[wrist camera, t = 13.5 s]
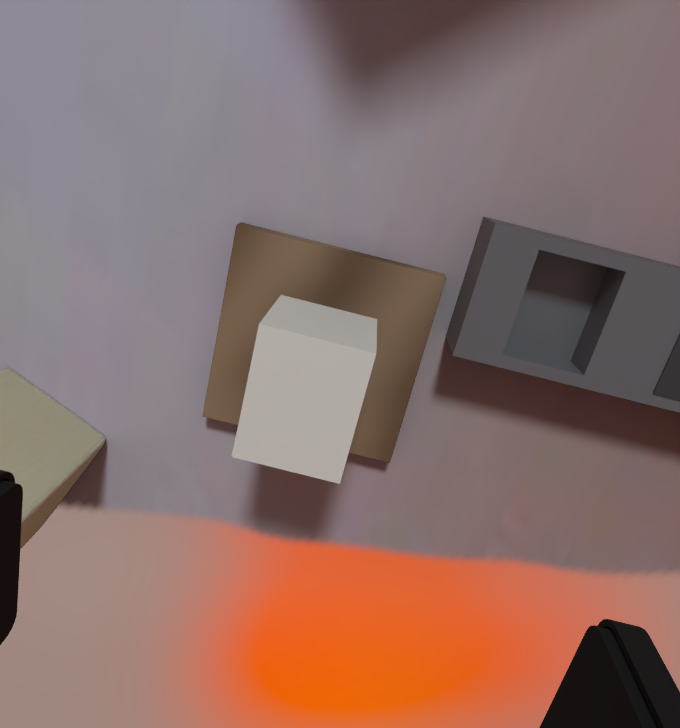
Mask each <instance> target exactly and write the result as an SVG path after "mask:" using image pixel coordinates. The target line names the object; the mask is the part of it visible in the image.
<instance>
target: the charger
mask: <svg viewBox="0 0 680 728" xmlns="http://www.w3.org/2000/svg"><path fill="white" fill-rule="evenodd" d="M376 350H377V319H375V318H371V317H367V316H363V315H359V314H355V313H351V312H347V311H343V310H339V309H335V308H331V307H328V306H324V305H320V304H316V303H312V302H308V301H304V300H300V299H296V298H292V297H288V296H284V295H280V297H279V298H278V299H277V301H276V302H275V303H274V305H273V306H272V307H271V309H270V310H269V311H268V313H267V314H266V315H265V317H264V318H263V319H262V320H261V322H260V323H259V326H258V331H257V336H256V341H255V346H254V351H253V355H252V360H251V365H250V370H249V375H248V380H247V385H246V390H245V394H244V399H243V404H242V409H241V414H240V419H239V424H238V429H237V433H236V438H235V443H234V448H233V453H232V457H234V458H238V459H242V460H246V461H250V462H254V463H258V464H262V465H266V466H270V467H274V468H278V469H282V470H286V471H290V472H294V473H298V474H302V475H306V476H310V477H314V478H318V479H322V480H326V481H330V482H334V483H338V484H340V482H341V478H342V475H343V471H344V468H345V464H346V460H347V457H348V453H349V450H350V446H351V443H352V439H353V435H354V432H355V428H356V425H357V421H358V418H359V414H360V410H361V407H362V403H363V400H364V396H365V393H366V389H367V385H368V382H369V378H370V375H371V371H372V368H373V364H374V360H375V357H376Z"/></svg>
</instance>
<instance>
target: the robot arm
mask: <svg viewBox="0 0 680 728" xmlns="http://www.w3.org/2000/svg"><path fill="white" fill-rule="evenodd" d="M22 502H23V488H22V486H21V485H20V484H17V483H15V478H14V475H13V474H12V473H10V472H8V471H4V470H0V645H1V643H2V642H3V641H4V640H5V638H6V637H7V636H8V634H9V632H10V631H11V629H12V627H13V624H14V622H15V618H16V614H17V599H18V579H19V561H20V541H21V522H22ZM540 728H680V692H679V690H678V688H677V686H676V684H675V683H674V681H673V679H672V677H671V675H670V673H669V671H668V670H667V668H666V666H665V664H664V662H663V661H662V659H661V657H660V655H659V653H658V651H657V649H656V648H655V646H654V644H653V642H652V640H651V638H650V636H649V635H648V633H647V632H646V631H645V630H644V629H643V628H641V627H638V626H633V625H630V624H625V623H621V622H617V621H613V620H609V619H604V620H603V621H601V622H600V623H599V625H598V626H590V627H589V628H588V629H587V631H586V633H585V635H584V637H583V639H582V641H581V643H580V645H579V647H578V649H577V651H576V654H575V656H574V658H573V660H572V662H571V664H570V666H569V668H568V670H567V672H566V674H565V676H564V678H563V680H562V682H561V685H560V687H559V689H558V691H557V693H556V695H555V697H554V699H553V701H552V703H551V705H550V707H549V710H548V711H547V714H546V716H545V718H544V720H543V722H542V724H541V726H540Z"/></svg>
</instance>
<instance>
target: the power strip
mask: <svg viewBox="0 0 680 728" xmlns="http://www.w3.org/2000/svg"><path fill="white" fill-rule="evenodd" d="M446 339H447V342H448V344H449V347H450V350H451V353H452V355H453V356H456V357H460V358H464V359H468V360H472V361H476V362H480V363H484V364H488V365H492V366H496V367H500V368H504V369H508V370H512V371H516V372H520V373H524V374H528V375H532V376H536V377H539V378H543V379H547V380H551V381H555V382H559V383H563V384H567V385H571V386H575V387H579V388H583V389H587V390H591V391H595V392H599V393H603V394H607V395H611V396H615V397H619V398H623V399H627V400H631V401H635V402H639V403H643V404H647V405H651V406H655V407H659V408H663V409H667V410H671V411H675V412H679V413H680V267H678V266H675V265H671V264H667V263H663V262H659V261H655V260H651V259H647V258H643V257H639V256H635V255H631V254H628V253H624V252H620V251H616V250H612V249H608V248H604V247H600V246H596V245H592V244H588V243H584V242H580V241H577V240H573V239H569V238H565V237H561V236H557V235H553V234H549V233H545V232H541V231H537V230H533V229H530V228H526V227H522V226H518V225H514V224H510V223H506V222H502V221H498V220H494V219H490V218H486V217H483V220H482V224H481V227H480V230H479V233H478V236H477V239H476V243H475V246H474V249H473V252H472V255H471V258H470V262H469V265H468V268H467V271H466V274H465V278H464V281H463V284H462V287H461V290H460V293H459V297H458V300H457V303H456V306H455V309H454V312H453V316H452V319H451V322H450V325H449V328H448V331H447V335H446Z"/></svg>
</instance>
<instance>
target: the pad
mask: <svg viewBox="0 0 680 728" xmlns="http://www.w3.org/2000/svg"><path fill="white" fill-rule="evenodd" d="M445 280H446V277H445V275H444V274H442V273H438V272H434V271H430V270H426V269H423V268H419V267H415V266H411V265H407V264H403V263H399V262H395V261H391V260H387V259H383V258H379V257H375V256H371V255H367V254H363V253H359V252H355V251H351V250H347V249H344V248H340V247H336V246H332V245H328V244H324V243H320V242H316V241H312V240H308V239H304V238H300V237H296V236H292V235H288V234H284V233H280V232H276V231H272V230H269V229H265V228H261V227H257V226H253V225H249V224H245V223H240V224H237V226H236V231H235V237H234V243H233V248H232V254H231V259H230V265H229V271H228V276H227V282H226V288H225V293H224V299H223V304H222V310H221V316H220V321H219V327H218V333H217V338H216V344H215V349H214V355H213V361H212V366H211V372H210V378H209V383H208V389H207V394H206V400H205V406H204V411H203V417H207V418H211V419H215V420H219V421H223V422H227V423H231V424H235V425H238V424H239V419H240V414H241V409H242V404H243V399H244V394H245V390H246V385H247V380H248V375H249V370H250V365H251V360H252V355H253V351H254V346H255V341H256V336H257V331H258V326H259V323H260V322H261V320H262V319H263V318H264V317H265V315H266V314H267V313H268V311H269V310H270V309H271V307H272V306H273V305H274V303H275V302H276V301H277V299H278V298H279V297H280V295H284V296H288V297H292V298H296V299H300V300H304V301H308V302H312V303H316V304H320V305H324V306H328V307H331V308H335V309H339V310H343V311H347V312H351V313H355V314H359V315H363V316H367V317H371V318H375V319H377V350H376V357H375V360H374V364H373V368H372V371H371V375H370V378H369V382H368V385H367V389H366V393H365V396H364V400H363V403H362V407H361V410H360V414H359V418H358V421H357V425H356V428H355V432H354V435H353V439H352V443H351V446H350V450H349V453H352V454H356V455H360V456H364V457H368V458H372V459H376V460H380V461H384V462H388V463H390V460H391V457H392V454H393V450H394V447H395V444H396V441H397V437H398V434H399V431H400V427H401V424H402V421H403V418H404V414H405V411H406V408H407V404H408V401H409V398H410V395H411V391H412V388H413V385H414V381H415V378H416V375H417V372H418V368H419V365H420V362H421V358H422V355H423V352H424V349H425V345H426V342H427V339H428V335H429V332H430V329H431V326H432V322H433V319H434V316H435V313H436V309H437V306H438V303H439V299H440V296H441V293H442V290H443V286H444V283H445Z"/></svg>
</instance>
